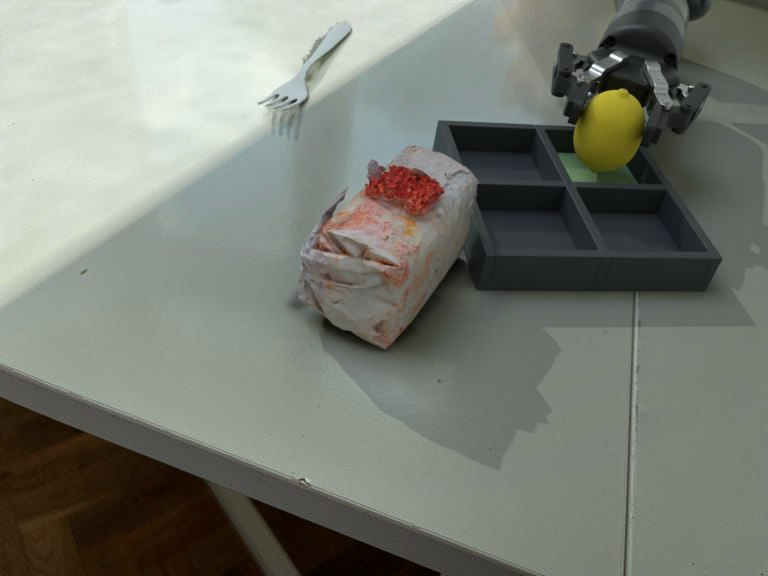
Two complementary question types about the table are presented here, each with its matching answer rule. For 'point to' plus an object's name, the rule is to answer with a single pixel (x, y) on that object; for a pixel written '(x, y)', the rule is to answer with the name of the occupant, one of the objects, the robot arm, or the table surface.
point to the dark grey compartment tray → (572, 215)
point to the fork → (297, 85)
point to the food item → (388, 244)
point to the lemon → (609, 131)
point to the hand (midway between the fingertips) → (611, 125)
